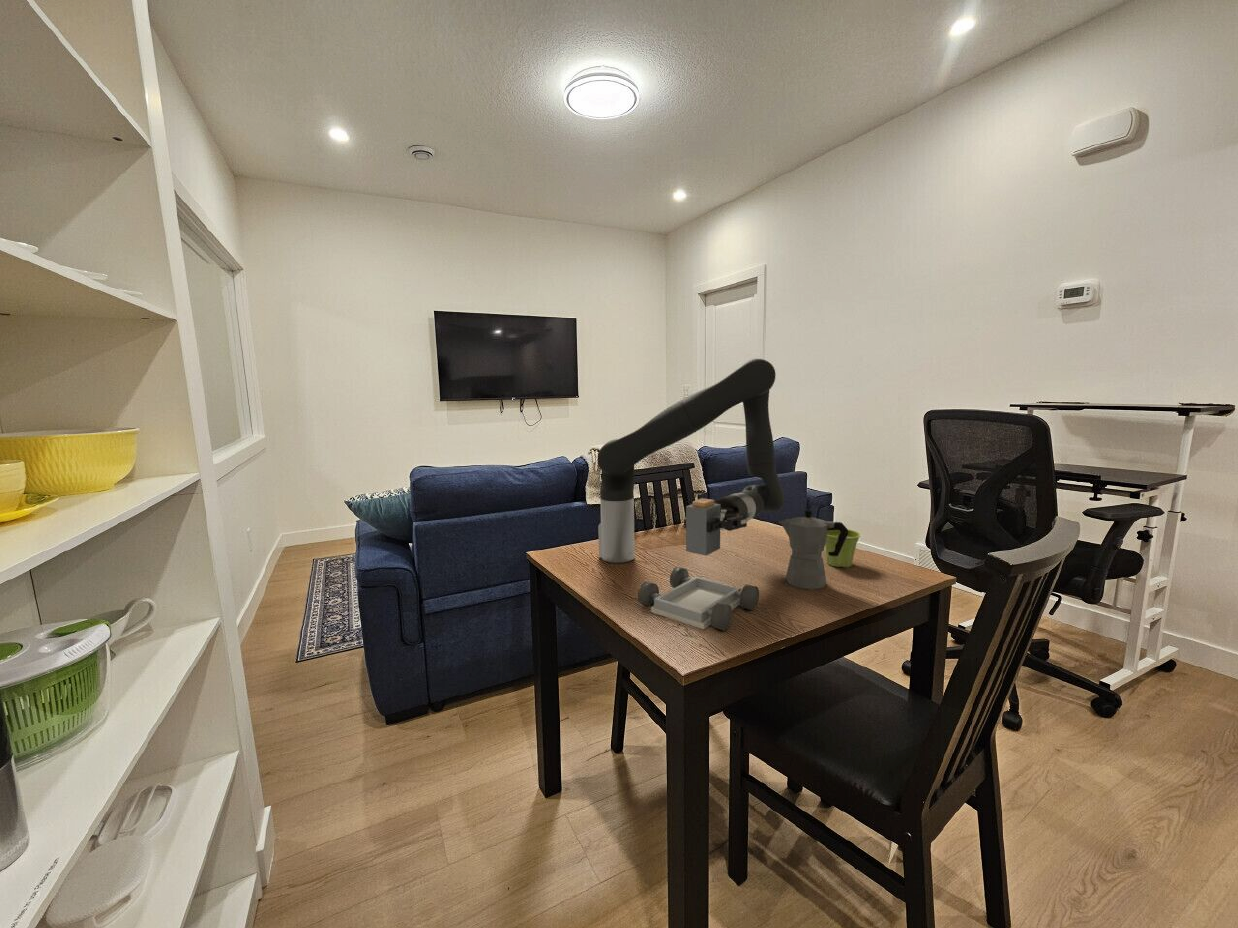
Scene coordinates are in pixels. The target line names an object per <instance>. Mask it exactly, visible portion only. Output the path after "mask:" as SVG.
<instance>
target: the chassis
mask: <svg viewBox="0 0 1238 928" xmlns="http://www.w3.org/2000/svg"><path fill="white" fill-rule="evenodd" d="M689 575H690V574H689V571H688V569H686V568H685V567H680V566H676V567H674V568H673V569H672V571H671V573H670V576H669V584H670V587H672V589H670V590H668V591H665V592H664V593H663V594H660V587H659V586H658V585H657V583H653V582H650V581H644V582H643V583H642V584H641V585H640V587H639V589H638V591H637V592H638V593H637V601H638V602H639V604H641V605H643V606H646V607H649V608H650V612H651V613H654V614H656V615H660V616H662V617H666V618H668V619H672V620H675V621H678V622H680V623H684V624H686V625H689V626H693V627H695V628H699V629H701V630H705V629H706V628H708V627H709V626H712V627H713V628H714V629H717V630H720V631H723V632H724V631H727V629H728V628H729V627H730V626H731V623H732V620H733V610H734V609H735V608H737V607H738V606H740V607H741V608H744V609H747V610H750V611H754V610H755V609H756V607H757V605H758V603H759V599H760V590H759V588H758V586H756V585H752V584H748V583H747V584H744V585H743V587H742V588H741V587H739V586H734V585H730V584H726V583H722V582H719V581H715V580H712V579H707V578H703V577H700V576H694V577H693V578H690V576H689Z"/></svg>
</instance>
